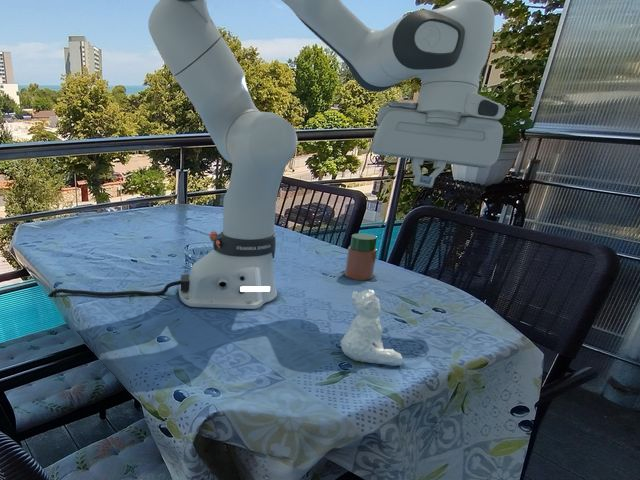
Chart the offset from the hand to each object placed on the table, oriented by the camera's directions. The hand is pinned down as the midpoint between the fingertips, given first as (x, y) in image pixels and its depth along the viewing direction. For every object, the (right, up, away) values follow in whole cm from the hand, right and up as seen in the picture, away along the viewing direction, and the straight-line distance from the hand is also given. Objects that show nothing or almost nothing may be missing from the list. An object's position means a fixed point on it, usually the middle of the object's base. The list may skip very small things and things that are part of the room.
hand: (422, 186), depth 84 cm
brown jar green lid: (+2, -15, +31) cm, 35 cm away
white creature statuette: (-12, -30, -4) cm, 33 cm away
